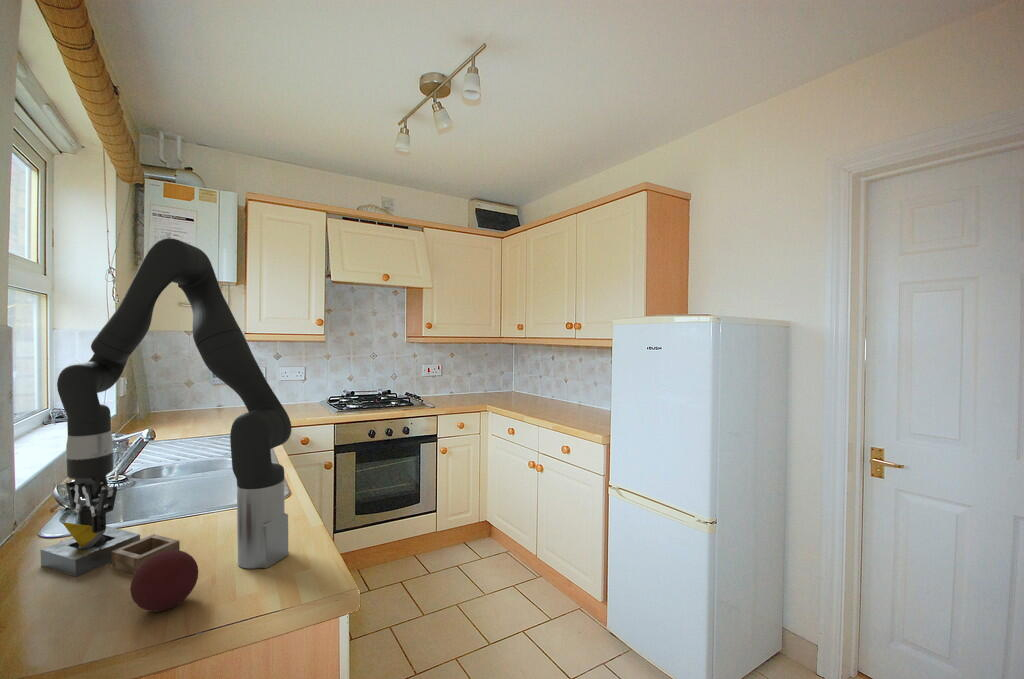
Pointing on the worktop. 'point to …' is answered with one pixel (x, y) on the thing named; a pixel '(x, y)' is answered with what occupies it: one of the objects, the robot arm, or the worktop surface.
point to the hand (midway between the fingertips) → (92, 529)
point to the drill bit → (85, 535)
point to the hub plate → (85, 552)
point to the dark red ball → (164, 580)
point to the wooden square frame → (141, 552)
